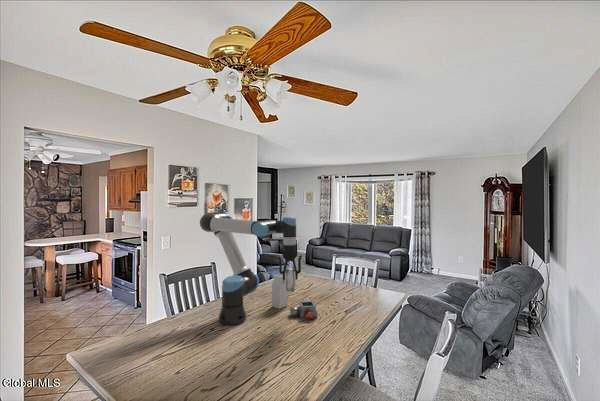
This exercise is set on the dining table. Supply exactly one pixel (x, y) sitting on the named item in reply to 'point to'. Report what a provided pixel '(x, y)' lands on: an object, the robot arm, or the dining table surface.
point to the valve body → (305, 310)
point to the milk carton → (279, 293)
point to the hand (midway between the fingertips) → (290, 285)
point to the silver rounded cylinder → (290, 280)
